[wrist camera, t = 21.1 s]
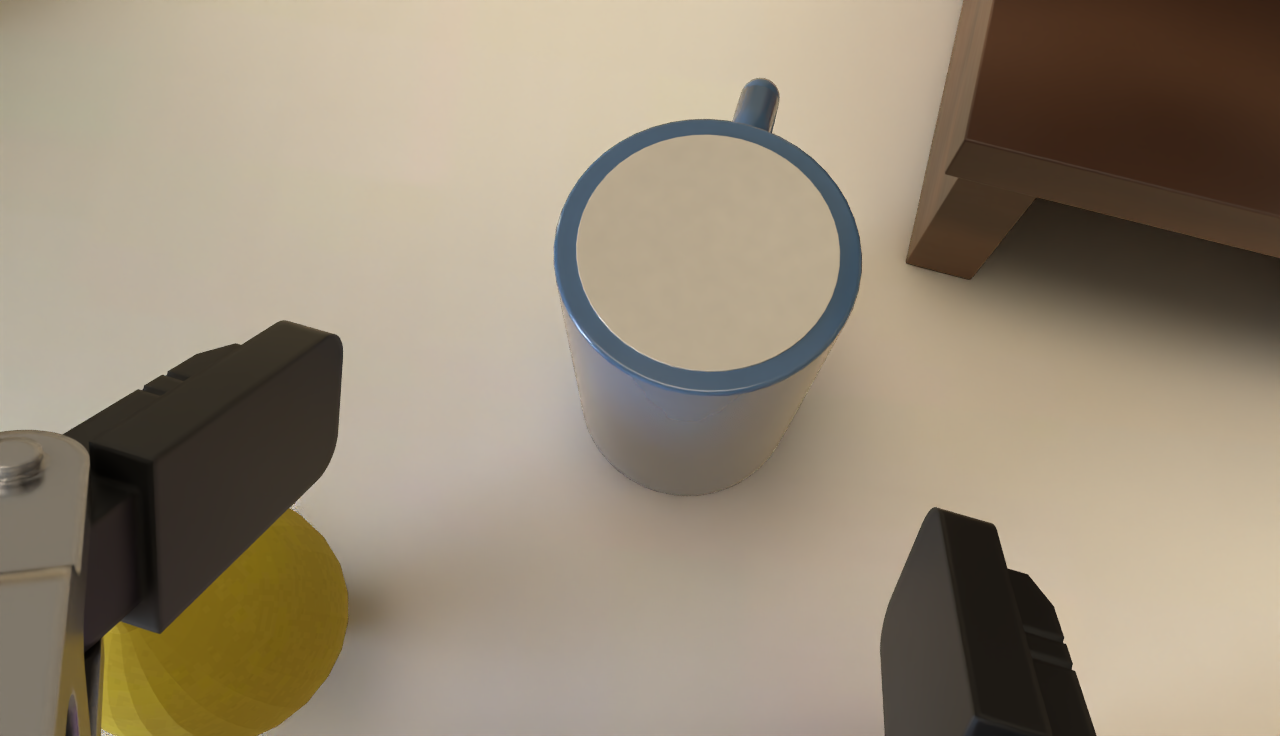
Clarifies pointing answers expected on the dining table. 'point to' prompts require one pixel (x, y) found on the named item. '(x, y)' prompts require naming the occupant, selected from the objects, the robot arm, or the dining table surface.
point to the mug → (702, 293)
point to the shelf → (1105, 122)
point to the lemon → (234, 645)
